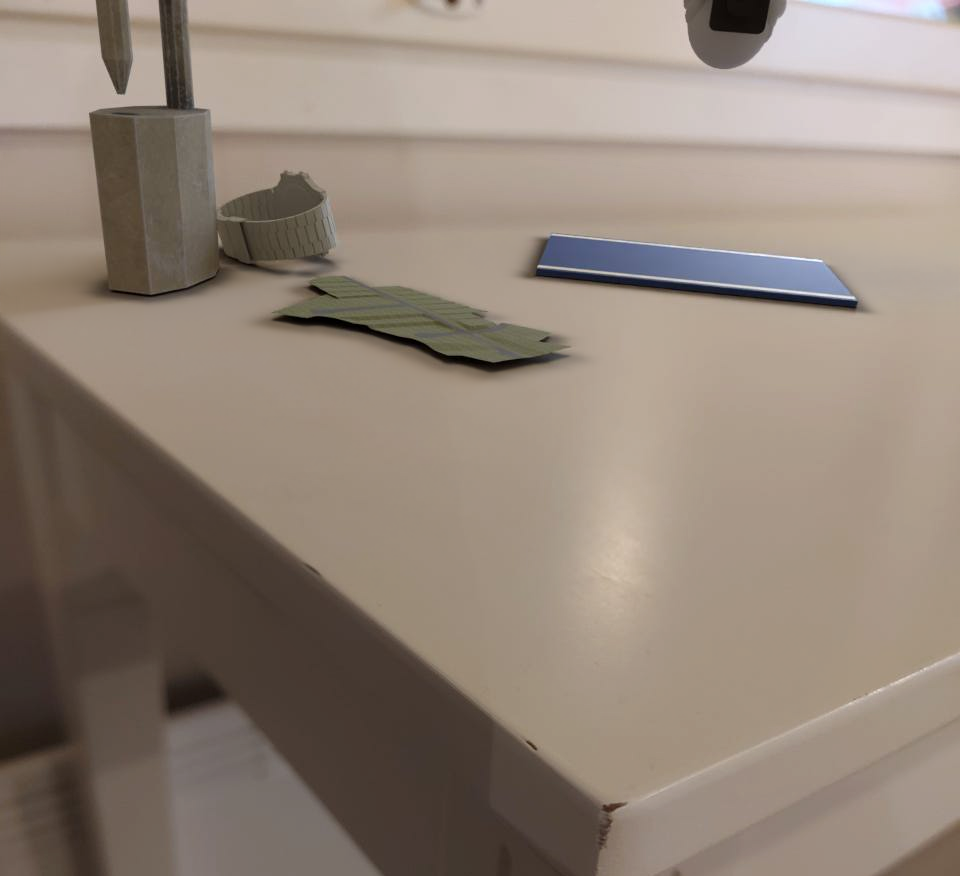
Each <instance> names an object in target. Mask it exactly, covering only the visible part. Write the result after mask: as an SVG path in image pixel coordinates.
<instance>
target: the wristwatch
mask: <svg viewBox="0 0 960 876" xmlns="http://www.w3.org/2000/svg"><path fill="white" fill-rule="evenodd" d="M279 178H280V179H279V181H278V182H277V185H276V186H273V187H269V188H263V189H259V190H255V191H252V192H248V193H245V194H243V195H240V196H237V197H235V198H234V197H233V198H232V199H230V200H228V201H226V202H224V203H222V204H221V205H219V206H218V207H216V213H217V229H218V237H219V240H220V242H221V246H222V248H223V252H224V253H225V255H226V256H228V257H230V258H233V259H236V260H238V261H239V262H242V263H245V264H249V265H250V264H254V263H257V262H278V261H279V262H280V261H286V260H287V261H288V260H289V261H290V260H294V259H300V258H306V257H310V256H314V255H316V256H320V257H321V258H324V257H325V256H326V255H328V254H329V252H330V251H331V250H332V249H334V248H336V247H338V246H339V244H340V241H339V237H338V234H337V233H338V232H337V229H336V225H335V221H334V217H333V213H332V209H331V206H330V205H331V204H330V201H329V196H328V195H327V194H328V193H327V190H326V189H324V188H323V187H321V186H320V185H319V184H318V182H317V181H316V180H315V179H314V178H312V177H311V176H310V174H309V173H308V172H305V171H304V170H299V172H293V171H290V170H288V169H284V170H283V172H281V173H280V174H279Z"/></svg>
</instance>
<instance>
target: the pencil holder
mask: <svg viewBox="0 0 960 876" xmlns="http://www.w3.org/2000/svg"><path fill="white" fill-rule="evenodd" d="M157 1H158V2H157V3H158V12H159V25H160V36H161V37H160V39H161V48H162V49H161V51H162V62H163V73H164V74H163V75H164V87H165V99H166V101H165V102H166V104H163V105H130V106H129V105H128V106H119V107H118V106H117V107H107V108H106V107H105V108H99V109H95V110H93V111H90V112H88V118H89V126H90V127H89V128H90V135H91V142H92V152H93V161H94V169H95V177H96V188H97V195H98V204H99V211H100V222H101V230H102V238H103V247H104V255H105V256H104V257H105V263H106V272H107V282H108V290H111V291H120V292H127V293H128V292H129V293H134V294H142V295H156V294H161V293H166V292H171V291H177V290H181V289H186V288H189V287H191V286H194V285H196V284H198V283H201V282H203V281H206V280H208V279H210V278H213V277H215V276H216V275H217V272H218V271H219V269H220V267H221V264H220V250H219V249H220V248H219V233H218V229H217V213H216V209H217V199H216V198H217V197H216V196H217V195H216V183H215V165H214V164H215V163H214V148H213V147H214V146H213V131H212V116H211V115H212V114H211V113H212V112H211V109H210V108H200V107H199V108H198V107H195V97H194V83H193V68H192V51H191V38H190V37H191V35H190V23H189V9H188V0H157ZM95 7H96V18H97V26H98V35H99V47H100V54H101V59H102V61H103V64H104V66H105V68H106V71H107V73H108V76H109V78H110V80H111V83H112V85H113V87H114V90H115V92H116V95H123V96H125V95H126V92H127V89H128V84H129V80H130V75H131V71H132V66H133V62H134V52H133V44H132V42H133V41H132V31H131V21H130V20H131V19H130V11H129V9H130V8H129V0H95Z"/></svg>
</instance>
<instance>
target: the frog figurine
mask: <svg viewBox="0 0 960 876" xmlns="http://www.w3.org/2000/svg"><path fill="white" fill-rule="evenodd" d="M712 1H713V0H683V2H682V3H683V7H684V10H685V14H684V18H685V23H686V27H687V36H688V41H689V44H690V47H691V49H692V50H693V53H694V54H695V55H696V57H697V58H698V59H699V60H700V61H701V62H702V63H703V64H705V65H707V66H709V67H711V68H713V69H717V70H731V69H736V68H739V67H741V66H744V65H745V64H747V63H748V62H750V61H751V60H752V59H754V57H756V56H757V54H758V53H759V52H760V51H761V50H762V48H763V47H764V45H765V44H766V43H767V42H769V40H770V38H771V37H772V35H773V32H774V28H775V27H776V24H777V22H778V20H779V19H780V18H781V17H782V16H783V15H784V14H785V12H786V9H787V6H788V5H787V3H788V1H787V0H770V5H769V10H768V15H767V21H766V26H765V29H764V31H763V32H762V33H761V34H745V33H733V32H720V31H713V30H711V29H710V27H709V20H710V13H711V7H712Z"/></svg>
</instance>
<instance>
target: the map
mask: <svg viewBox="0 0 960 876" xmlns="http://www.w3.org/2000/svg"><path fill="white" fill-rule="evenodd" d="M306 283H309V284H310V285H312V286H314V287H317V288H318V289H320V290H322V291H324V292H326V294H323V295H321V296H318V297H315V298H313V299H309V300H307V301H303V302H300V303H296V304H292V305H289V306H286V307H283V308H281V309H277V310H274V311H271V312H270V313H271V314H276V315H283V316H289V317H290V316H291V317H298V318H305V319H308V318H313V317H326V318H331V319H332V318H333V319H337V320H341V321H345V322H348V323H352V324H356V325H357V324H358V325H363V326H364V325H365V326H367V327H368V328H369V329H371V330H374V331H377V332H381V333H384V334H385V333H386V334H389V335H393V336H397V337H401V338H406V339H407V338H408V339H413V340H416V341H419V342H421V343H423V344H425V345H426V346H428V347H429V348H431V349H432V350H433V351H435V352H438V353H440V354H443V355H446V356H464V357H466V358H467V357H468V358H472V359H476V360H481V361H484V362H490V363H498V362H503V361H510V360H517V359H518V360H519V359H529V358H534V357H539V356H545V355H549V354H551V353H553V352H557V351H561V350H566V349H569V348H572V347H573V346H571V345H565V344H558V343H551V342H544V341H543V340H544V339H546V338H547V337H549V336H550V335H552V332H549V331H545V330H540V329H536V328H531V327H526V326H521V325H517V324H513V323H506V322H501V323H499V324H496V323H495V322H494V321H491V320H487V319H485V318H483V317H481V316H479V315H477V314H478V313H489V311H488V310H483V309H478V308H472V307H470V306H467V305H463V304H459V303H456V302H455V301H451V300H447V299H443V298H442V297H439V296H434V295H430V294H427V293H425V292H421V291H418V290H414V289H412V288H409V287H406V286H401V285H392V286H391V285H390V286H369V285H367V284H365V283H362V282H360V281H357V280H355V279H352V278H350V277H348V276H345V275H328V276H318V277H314V278H313V279H309V280H306ZM475 313H477V314H475Z"/></svg>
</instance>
